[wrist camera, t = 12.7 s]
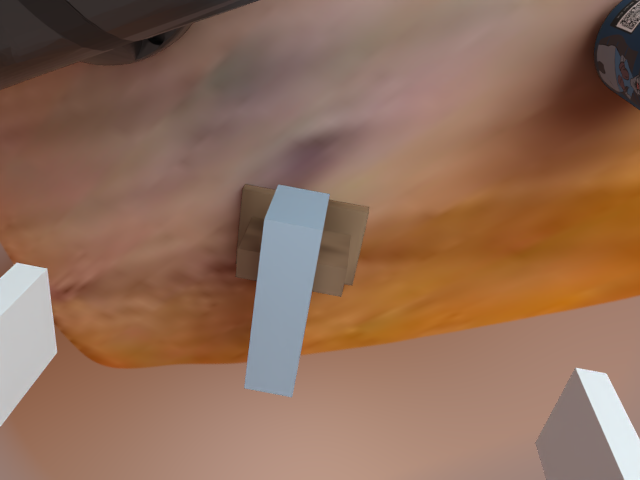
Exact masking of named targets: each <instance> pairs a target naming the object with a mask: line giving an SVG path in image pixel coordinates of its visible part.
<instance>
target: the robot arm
mask: <svg viewBox="0 0 640 480" xmlns="http://www.w3.org/2000/svg"><path fill="white" fill-rule="evenodd" d="M256 1H259V0H0V90H2V89H4V88H7V87H10V86H12V85H15V84H18V83H20V82H23V81H26V80H28V79H31V78H34V77H37V76H40V75H42V74H45V73H48V72H51V71H54V70H56V69H59V68H62V67H65V66H68V65H70V64H73V63H76V62H79V61H80V62H85V63H89V64H96V65H122V64H128V63H133V62H137V61H140V60H143V59H146V58H148V57H150V56H152V55H154V54H156V53H158V52H160V51H161V50H163V49H165V48H167V47H168V46H170V45H171V44H173V43H174V42H175V41H176V40H178V39H179V38H180V37H181V36H182V35H183V34H184V33H185V32H186V31H187V30H188V28H189V27H190V26H191V25H192V23H194V22H197V21H200V20H203V19H206V18H209V17H212V16H215V15H218V14H221V13H224V12H227V11H229V10H232V9H235V8H238V7H241V6H244V5H247V4H250V3H253V2H256ZM56 353H57V347H56V338H55V329H54V321H53V313H52V304H51V296H50V287H49V279H48V271H47V268H42V267H36V266H31V265H26V264H20V263H16V264H15V265H14V266H13V267H12V268H10V270H8V271H7V272H6V273H5V274H4V275H3V276H2V277H1V278H0V426H1V425H2V424H3V422H4V421H5V420H6V419H7V417H8V416H9V414H10V413H11V412H12V411H13V409H14V408H15V407H16V406H17V404H18V403H19V402H20V400H21V399H22V398H23V396H24V395H25V394H26V393H27V391H28V390H29V389H30V387H31V385H32V384H33V383H34V382H35V381H36V379H37V378H38V377H39V376H40V374H41V373H42V372H43V370H44V369H45V368H46V366H47V365H48V364H49V362H50V361H51V360H52V358H53V357H54V356H55V354H56ZM536 447H537V450H538V453H539V457H540V460H541V463H542V467H543V470H544V474H545V477H546V480H640V439H639V437H638V436H637V434H636V432H635V430H634V428H633V426H632V424H631V422H630V420H629V418H628V416H627V414H626V412H625V410H624V408H623V406H622V404H621V402H620V400H619V398H618V396H617V394H616V392H615V390H614V388H613V386H612V384H611V382H610V380H609V378H608V376H607V374H606V373H601V372H596V371H590V370H584V369H580V368H575V369H574V371H573V373H572V375H571V377H570V379H569V381H568V382H567V384H566V386H565V388H564V390H563V392H562V394H561V396H560V397H559V399H558V402H557V403H556V405H555V407H554V409H553V411H552V412H551V414H550V416H549V418H548V420H547V422H546V424H545V426H544V427H543V429H542V431H541V433H540V435H539V437H538V439H537V441H536Z"/></svg>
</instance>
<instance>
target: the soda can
mask: <svg viewBox="0 0 640 480" xmlns="http://www.w3.org/2000/svg"><path fill="white" fill-rule="evenodd" d="M594 61H595V67H596V70H597V73H598V75H599V77H600V78H601V80H602V81H603V83H604V84H605V85H606V86H607V87H608V88H609V89H611V90H612V91H613V92H615V93H616V94H618V95H619V96H620V97H622V98H623V99H625V100H626V101H628V102H629V103H630V104H632V105H633V106H635V107H636V108H637V109H639V110H640V0H623V1H621V2H620V3H619V4H618V5H617V6H616V7H615V8H614V9H613V10H612V11H611V13H610V14H609V15H608V17H607V18H606V19H605V21H604V23H603V24H602V26H601V28H600V30H599V33H598V36H597V39H596V43H595V48H594Z"/></svg>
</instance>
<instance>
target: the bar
mask: <svg viewBox="0 0 640 480" xmlns="http://www.w3.org/2000/svg"><path fill="white" fill-rule="evenodd" d="M329 196H330V194H326V193H321V192H315V191H310V190H305V189H299V188H294V187H288V186H283V185H278V187H277V189H276V192H275V194H274V197H273V199H272V201H271V204H270V206H269V209H268V211H267V214H266V216H265V219H264V226H263V235H262V243H261V251H260V260H259V268H258V277H257V285H256V293H255V302H254V310H253V319H252V327H251V336H250V344H249V352H248V361H247V370H246V379H245V387H244V388H246V389H252V390H257V391H262V392H267V393H273V394H278V395H283V396H288V397H292V395H293V390H294V385H295V379H296V374H297V369H298V364H299V358H300V353H301V348H302V343H303V337H304V332H305V326H306V321H307V315H308V310H309V305H310V299H311V294H312V288H313V283H314V277H315V272H316V266H317V261H318V256H319V250H320V245H321V239H322V234H323V228H324V223H325V217H326V212H327V206H328V201H329Z"/></svg>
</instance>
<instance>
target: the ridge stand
mask: <svg viewBox="0 0 640 480" xmlns="http://www.w3.org/2000/svg"><path fill="white" fill-rule="evenodd" d="M275 192H276V190H274V189H268V188H263V187H258V186H252V185H247V184H245V186H244V188H243V191H242V201H241V212H240V223H239V234H238V245H237V255H236V264H237V268H236V277H238V278H244V279H249V280H254V281H257V277H258V268H259V260H260V251H261V243H262V235H263V226H264V219H265V216H266V214H267V211H268V209H269V206H270V204H271V201H272V199H273V197H274V194H275ZM368 214H369V207H365V206H360V205H354V204H349V203H344V202H338V201H333V200H329V201H328V206H327V212H326V217H325V223H324V228H323V234H322V239H321V245H320V250H319V256H318V261H317V266H316V272H315V277H314V283H313V288H312V291H313V292H318V293H324V294H329V295H334V296H340V297H341V296H342V291H343V287H344V284H347V285H352V284H353V280H354V276H355V271H356V267H357V262H358V258H359V254H360V249H361V245H362V241H363V236H364V232H365V227H366V223H367V219H368Z"/></svg>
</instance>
